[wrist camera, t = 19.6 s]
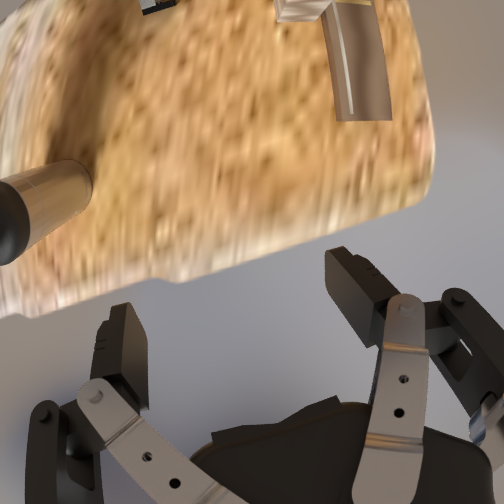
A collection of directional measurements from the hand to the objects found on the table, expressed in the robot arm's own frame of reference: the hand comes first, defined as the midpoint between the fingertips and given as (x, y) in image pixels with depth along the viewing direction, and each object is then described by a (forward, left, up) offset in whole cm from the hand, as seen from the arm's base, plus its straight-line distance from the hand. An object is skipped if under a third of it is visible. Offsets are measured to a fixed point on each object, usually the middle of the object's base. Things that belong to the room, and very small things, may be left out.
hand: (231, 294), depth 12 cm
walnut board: (+20, +21, -34) cm, 44 cm away
